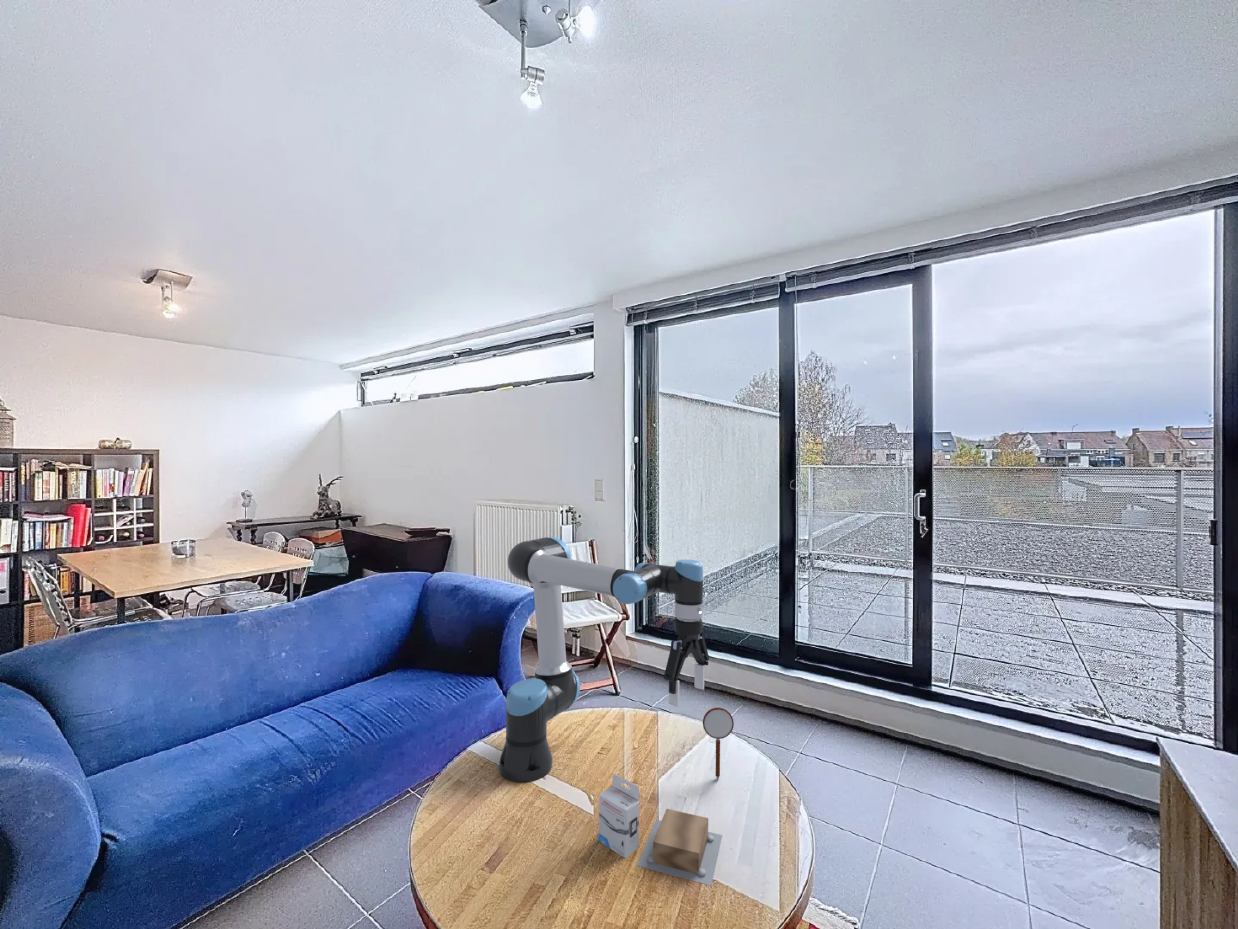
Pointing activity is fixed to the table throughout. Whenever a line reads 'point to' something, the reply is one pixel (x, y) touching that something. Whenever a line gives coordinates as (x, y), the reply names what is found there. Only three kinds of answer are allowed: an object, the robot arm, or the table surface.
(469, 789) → the table surface
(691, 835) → the base brick
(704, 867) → the plate
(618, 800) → the ink box
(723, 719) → the magnifying glass
